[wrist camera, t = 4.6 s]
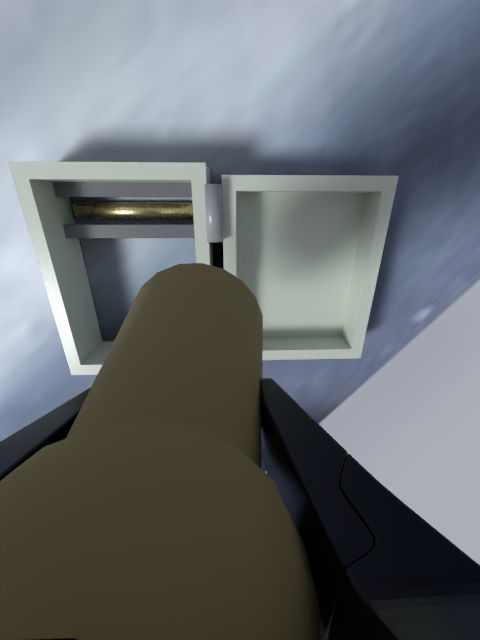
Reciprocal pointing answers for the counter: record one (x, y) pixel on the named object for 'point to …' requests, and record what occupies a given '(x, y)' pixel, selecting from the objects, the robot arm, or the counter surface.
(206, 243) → the case
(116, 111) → the counter surface
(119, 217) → the rod
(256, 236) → the lid
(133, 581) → the cork
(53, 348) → the counter surface
